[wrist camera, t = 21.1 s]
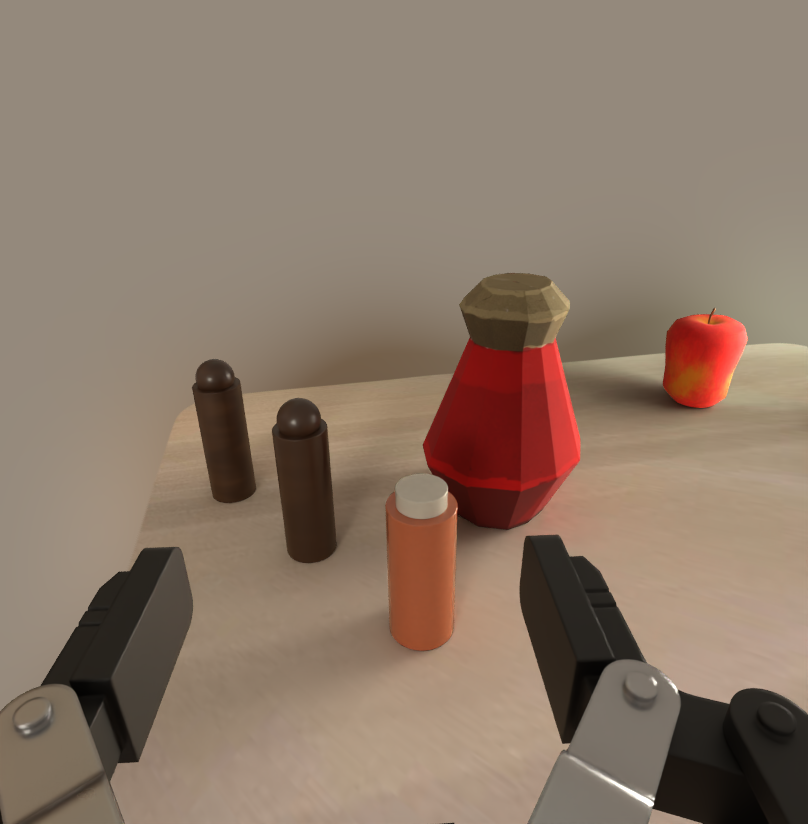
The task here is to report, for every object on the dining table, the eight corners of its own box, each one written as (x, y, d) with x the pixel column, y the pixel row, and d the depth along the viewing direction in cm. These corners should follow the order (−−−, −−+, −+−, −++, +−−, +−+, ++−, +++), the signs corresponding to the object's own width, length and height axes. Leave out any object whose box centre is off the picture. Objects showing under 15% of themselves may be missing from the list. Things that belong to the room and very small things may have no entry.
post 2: (307, 570, 44) (290, 417, 39) (277, 547, 47) (257, 400, 41) (346, 545, 47) (336, 399, 41) (316, 525, 49) (302, 384, 44)
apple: (700, 384, 76) (720, 296, 71) (746, 410, 68) (773, 314, 63) (641, 390, 74) (657, 300, 69) (682, 418, 67) (704, 320, 62)
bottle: (464, 444, 62) (471, 256, 53) (592, 476, 56) (623, 269, 47) (391, 523, 49) (385, 294, 41) (545, 574, 44) (576, 319, 35)
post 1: (226, 508, 52) (202, 372, 46) (204, 491, 54) (178, 360, 49) (264, 490, 54) (245, 359, 49) (241, 474, 57) (221, 349, 51)
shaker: (423, 662, 36) (423, 518, 32) (376, 625, 39) (369, 488, 34) (466, 624, 39) (473, 486, 34) (419, 592, 42) (419, 460, 37)
